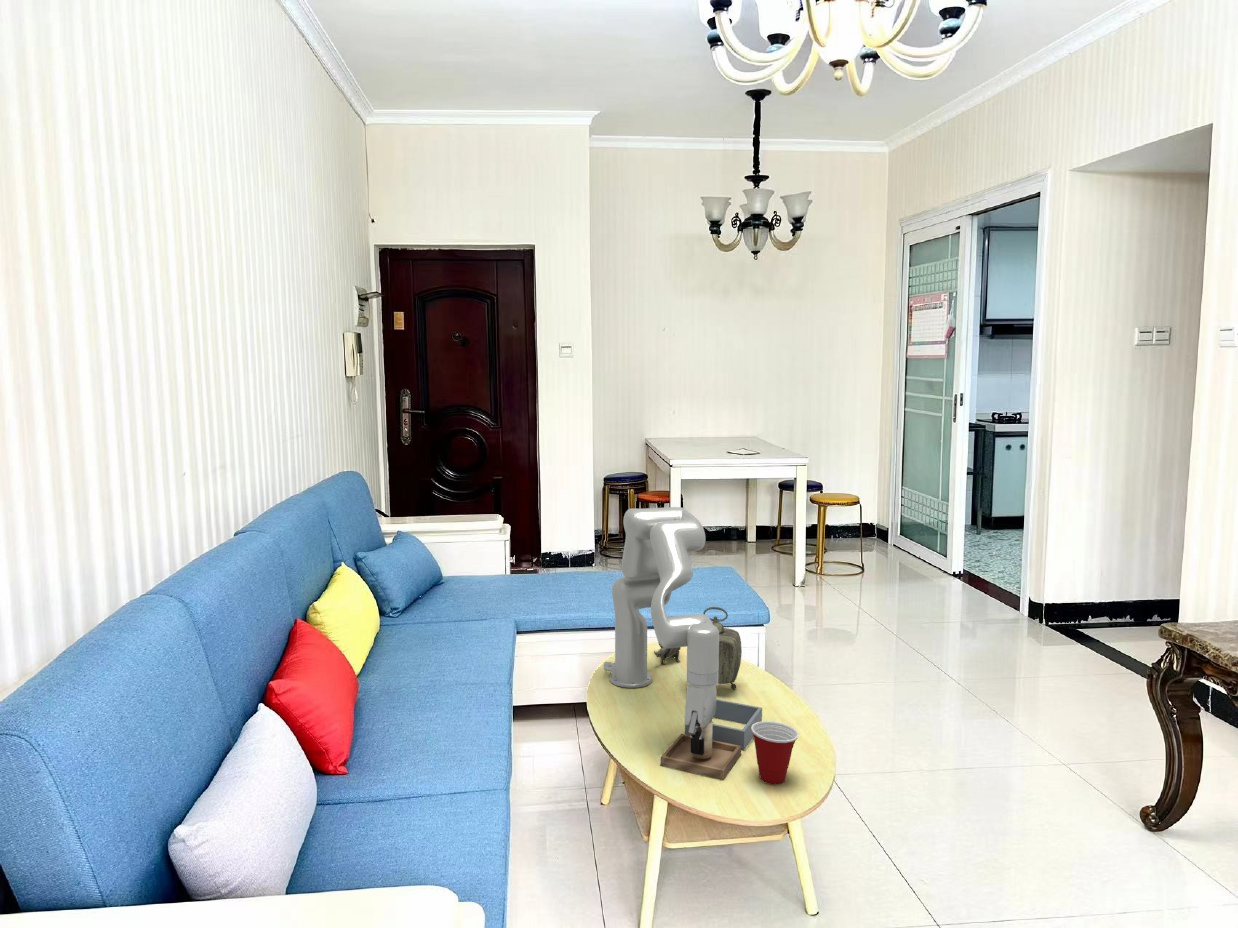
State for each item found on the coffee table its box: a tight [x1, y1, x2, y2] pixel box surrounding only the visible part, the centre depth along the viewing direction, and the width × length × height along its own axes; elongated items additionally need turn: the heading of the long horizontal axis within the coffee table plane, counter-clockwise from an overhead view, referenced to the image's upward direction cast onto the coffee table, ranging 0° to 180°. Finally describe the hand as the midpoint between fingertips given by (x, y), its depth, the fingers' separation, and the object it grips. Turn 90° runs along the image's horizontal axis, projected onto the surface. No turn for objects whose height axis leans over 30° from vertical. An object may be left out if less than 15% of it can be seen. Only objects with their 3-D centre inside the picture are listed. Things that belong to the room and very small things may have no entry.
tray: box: [659, 733, 742, 781], centre depth 205 cm, size 16×14×2 cm
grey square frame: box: [684, 699, 763, 752], centre depth 220 cm, size 16×16×5 cm
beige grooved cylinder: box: [691, 720, 714, 759], centre depth 205 cm, size 5×5×8 cm
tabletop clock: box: [702, 606, 742, 690], centre depth 245 cm, size 14×9×25 cm, turn 76°
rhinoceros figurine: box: [653, 641, 682, 666], centre depth 271 cm, size 8×14×15 cm
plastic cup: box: [751, 720, 800, 786], centre depth 196 cm, size 11×11×12 cm
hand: (701, 747), depth 205 cm, fingers closed on beige grooved cylinder, 4 cm apart
